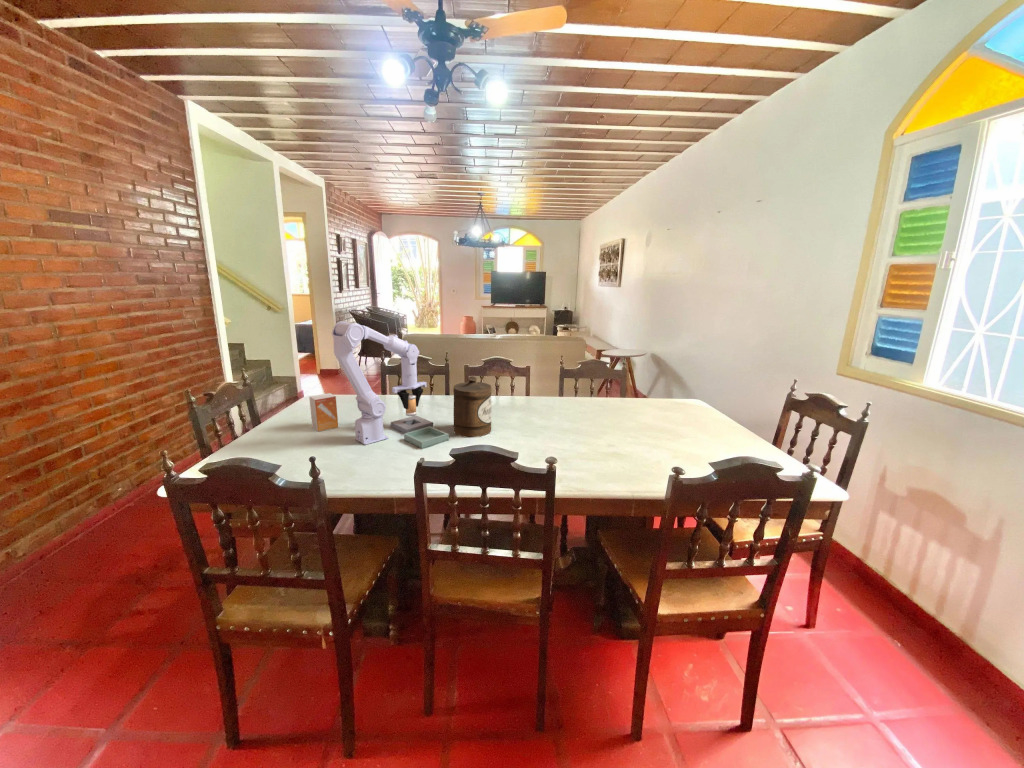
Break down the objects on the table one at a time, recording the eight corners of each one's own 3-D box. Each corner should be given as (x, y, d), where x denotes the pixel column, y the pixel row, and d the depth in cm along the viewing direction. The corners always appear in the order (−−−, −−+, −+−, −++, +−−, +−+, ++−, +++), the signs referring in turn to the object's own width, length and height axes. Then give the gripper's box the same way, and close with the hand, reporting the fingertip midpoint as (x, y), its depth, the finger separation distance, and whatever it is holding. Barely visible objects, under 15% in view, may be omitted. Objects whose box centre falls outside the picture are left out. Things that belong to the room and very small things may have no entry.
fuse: (409, 416, 162) (408, 397, 160) (403, 414, 164) (402, 395, 163) (418, 414, 165) (417, 395, 163) (412, 412, 167) (412, 393, 165)
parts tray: (422, 449, 144) (421, 442, 144) (404, 440, 152) (403, 433, 151) (448, 440, 152) (448, 434, 152) (430, 432, 160) (430, 426, 160)
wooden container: (490, 437, 156) (490, 381, 150) (451, 437, 156) (450, 380, 150) (492, 424, 170) (492, 372, 165) (456, 424, 170) (455, 372, 165)
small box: (318, 432, 159) (314, 399, 156) (312, 427, 163) (308, 396, 160) (339, 427, 164) (336, 395, 161) (332, 423, 169) (329, 392, 166)
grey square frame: (407, 434, 158) (406, 429, 157) (390, 426, 166) (390, 422, 165) (433, 427, 166) (432, 422, 165) (416, 419, 174) (416, 415, 174)
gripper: (398, 378, 153) (400, 413, 156) (430, 372, 163) (431, 405, 166) (388, 375, 157) (390, 409, 161) (420, 370, 168) (422, 402, 171)
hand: (410, 407), depth 164 cm, fingers closed on fuse, 4 cm apart
